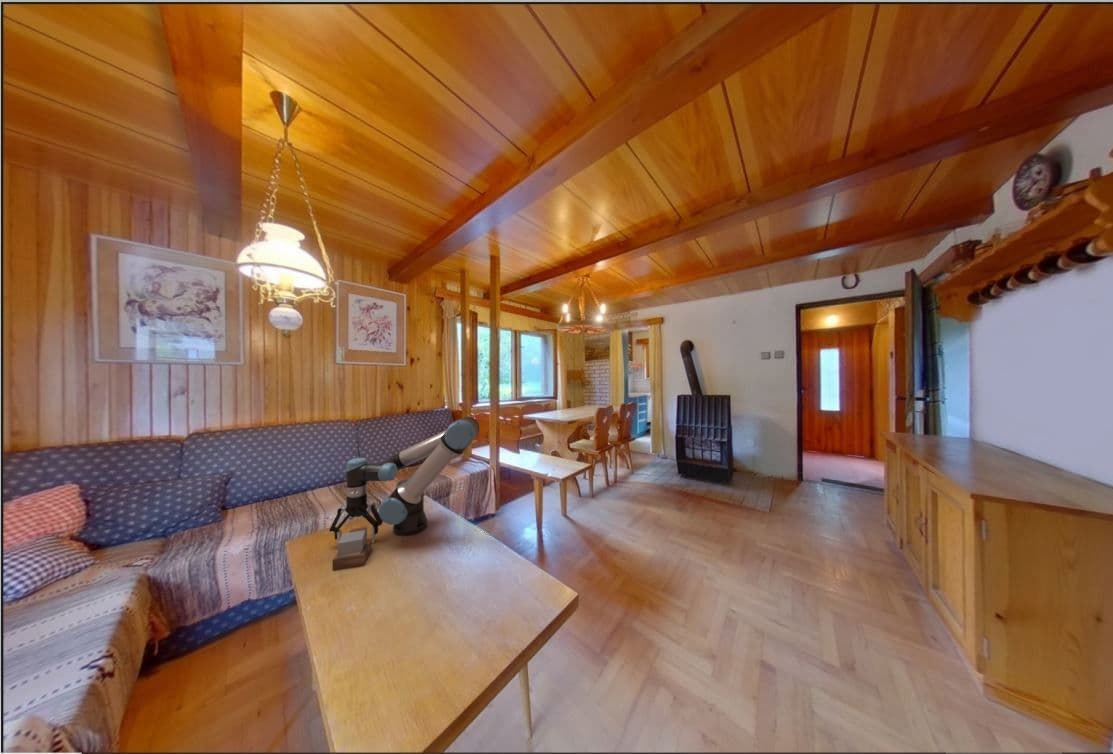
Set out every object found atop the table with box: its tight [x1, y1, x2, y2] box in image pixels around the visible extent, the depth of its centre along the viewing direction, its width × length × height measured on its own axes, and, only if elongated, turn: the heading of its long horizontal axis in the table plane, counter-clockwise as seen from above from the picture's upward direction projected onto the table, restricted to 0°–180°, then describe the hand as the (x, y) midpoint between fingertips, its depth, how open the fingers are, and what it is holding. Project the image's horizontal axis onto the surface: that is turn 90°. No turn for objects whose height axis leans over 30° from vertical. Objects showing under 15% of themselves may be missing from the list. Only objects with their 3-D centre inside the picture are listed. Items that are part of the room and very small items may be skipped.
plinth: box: [332, 539, 372, 571], centre depth 123 cm, size 12×10×4 cm
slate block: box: [337, 530, 366, 557], centre depth 123 cm, size 8×8×5 cm
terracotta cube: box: [348, 526, 368, 540], centre depth 134 cm, size 6×6×6 cm
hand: (356, 543), depth 134 cm, fingers open, 12 cm apart
